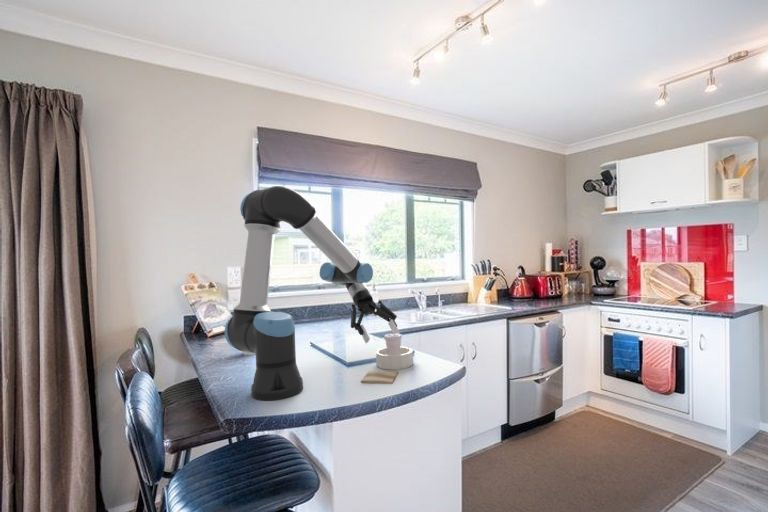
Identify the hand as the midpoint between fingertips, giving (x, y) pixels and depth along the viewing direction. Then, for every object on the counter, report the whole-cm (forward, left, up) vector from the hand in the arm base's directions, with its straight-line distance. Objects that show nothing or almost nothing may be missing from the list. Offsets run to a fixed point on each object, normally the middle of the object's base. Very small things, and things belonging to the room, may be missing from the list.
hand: (383, 337), depth 143 cm
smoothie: (-3, -6, -8) cm, 10 cm away
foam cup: (-7, +61, -9) cm, 62 cm away
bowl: (-3, -6, -8) cm, 11 cm away
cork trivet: (-18, -8, -8) cm, 22 cm away
